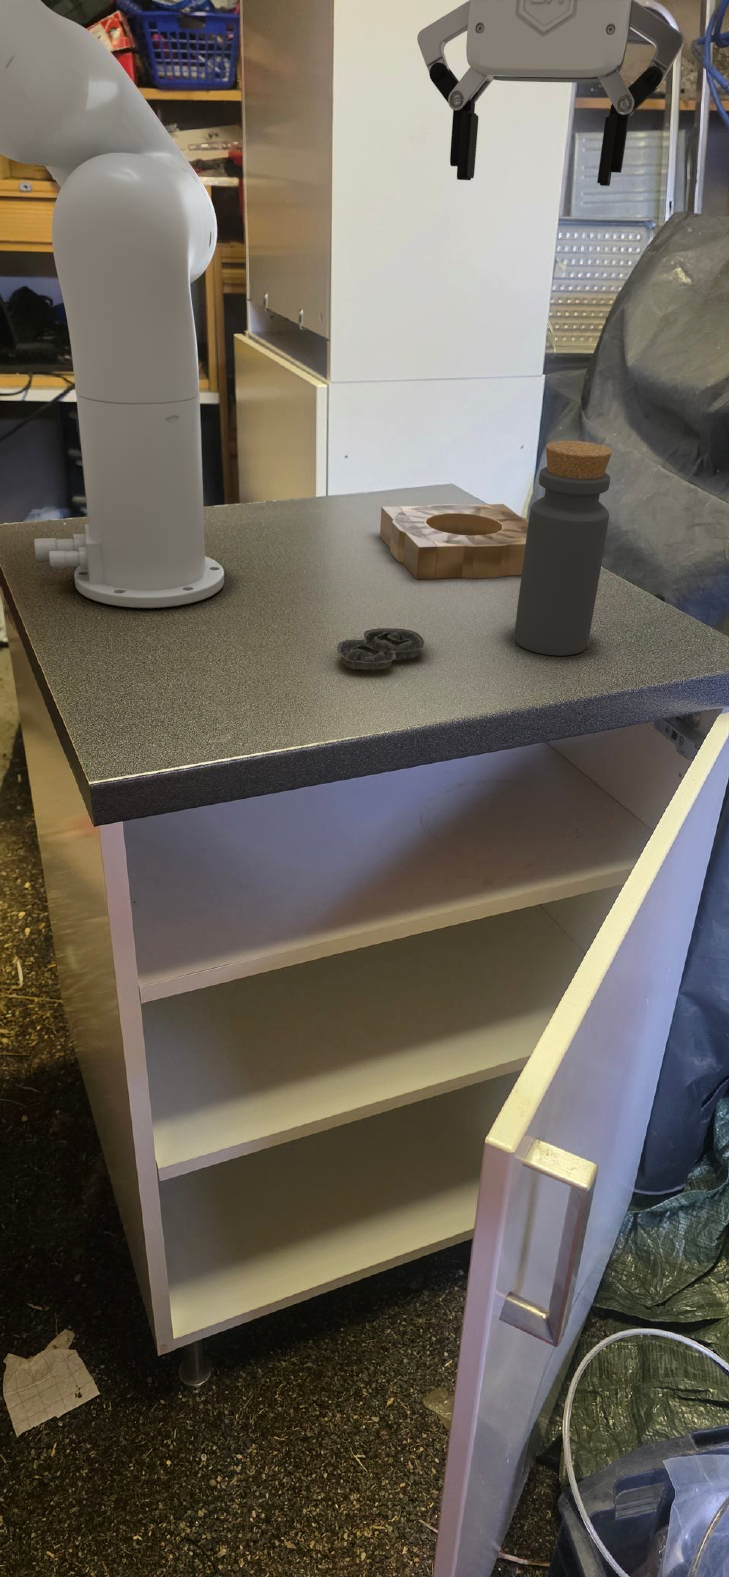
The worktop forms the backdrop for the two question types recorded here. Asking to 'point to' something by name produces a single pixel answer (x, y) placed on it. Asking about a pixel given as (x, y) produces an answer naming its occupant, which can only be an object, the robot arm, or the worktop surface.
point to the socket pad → (456, 540)
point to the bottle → (564, 550)
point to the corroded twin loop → (380, 648)
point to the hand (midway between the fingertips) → (533, 182)
